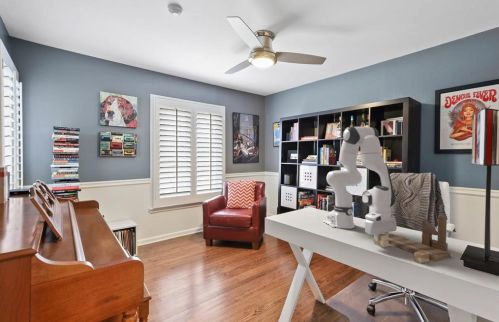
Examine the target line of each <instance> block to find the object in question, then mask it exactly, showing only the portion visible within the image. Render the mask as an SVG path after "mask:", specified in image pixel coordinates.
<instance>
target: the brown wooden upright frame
mask: <svg viewBox="0 0 499 322" xmlns="http://www.w3.org/2000/svg"><path fill="white" fill-rule="evenodd" d="M447 218H448V217H447V215H444V214H438V216H437V230H436V229H435V227H434V226H433V225H432V224H431V222H429V221H428V220H427V218H422V220H421V221H422V222H421V224H422V225H421V244H424V245H427V246H430V247H433V248H436V249H439V250H442V251H445V252H447V250H448V246H449V245H448V242H447V227H448V226H447V225H448V224H447V223H448V222H447V220H448V219H447ZM433 236H437V240H436V239H433Z"/></svg>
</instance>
